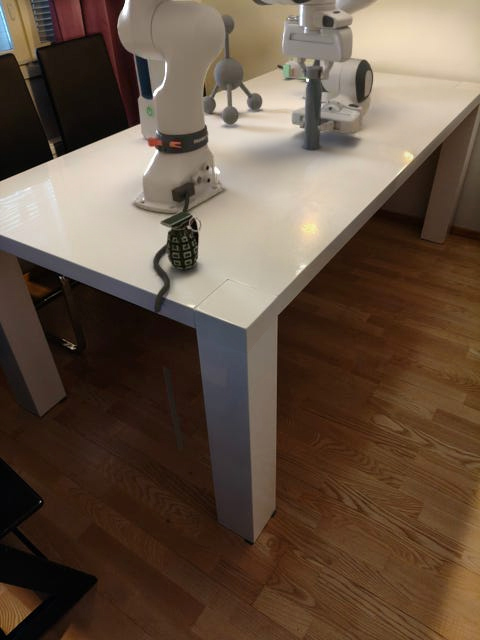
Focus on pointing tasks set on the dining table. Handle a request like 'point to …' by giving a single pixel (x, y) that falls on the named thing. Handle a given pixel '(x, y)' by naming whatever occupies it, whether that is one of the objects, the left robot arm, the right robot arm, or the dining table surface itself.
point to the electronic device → (148, 92)
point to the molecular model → (229, 81)
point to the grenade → (182, 240)
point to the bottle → (312, 114)
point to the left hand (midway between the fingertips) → (314, 77)
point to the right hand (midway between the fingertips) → (310, 127)
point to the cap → (314, 72)
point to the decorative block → (295, 68)
